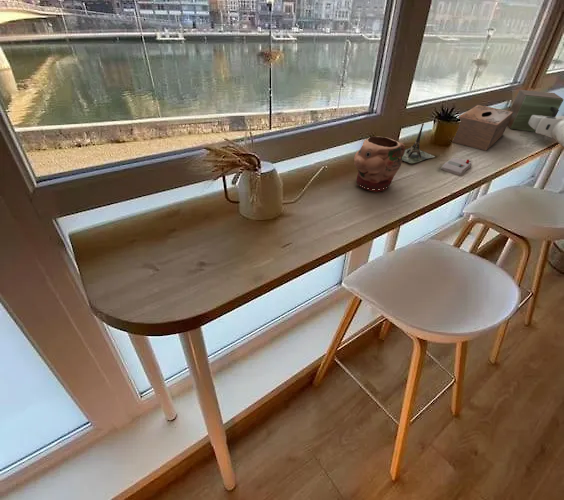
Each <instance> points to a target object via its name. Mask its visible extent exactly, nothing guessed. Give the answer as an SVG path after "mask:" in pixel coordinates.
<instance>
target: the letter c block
mask: <svg viewBox="0 0 564 500" xmlns="http://www.w3.org/2000/svg"><path fill="white" fill-rule="evenodd" d="M563 102H564V98H563V99H556V98H546V97H535V96H525V98H524V101H523V103H522V105H521V107H520V109H519V111H518V113H517V115H516V118H515V120H514V122H513V124H512V126H511V128H510V129H511V130H518V131H527V132H535V131H536V130H535V129H533V128H532V127H531V126H530V125H529V124H528V122H529V120H530V118H531V116H532V115H540V116H541V115H544V116H550V117H557V115H558V113H559V111H560V108H561V105H562V104H563ZM535 133H536V132H535Z"/></svg>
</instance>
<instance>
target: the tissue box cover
mask: <svg viewBox="0 0 564 500" xmlns="http://www.w3.org/2000/svg"><path fill="white" fill-rule="evenodd" d="M512 114H513V112H511V111H510V110H505V109H500V108H497V107H491V106H486V105H481V104H476V105H475V106H473V107H472V108H470V109H469V110H467V111H465V112H463V113H462V114H460V115H458V116H457V119H458V118H459V119H460V120H461V122H460V125H459V128H458V131H457V133H456V136H455V138H454V140H452V142H451V143H454V144H459V145H463V146H466V147H471V148H474V149H477V150H481V151H485V152H487V151H488V150H489V149H490V148H491V147H492V146H493V145H494V144H495V143H496V142H498V140H500V138H501V137H503V136H504V134H505V131H506V129H507V126H508V123H509V120H510V118H511V116H512Z"/></svg>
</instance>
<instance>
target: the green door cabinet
mask: <svg viewBox="0 0 564 500" xmlns="http://www.w3.org/2000/svg"><path fill="white" fill-rule="evenodd" d="M525 96H535V97H546V98H556V99H564V98H563V97H562V96H560V95H558V94H557V93H555V92H549V91H540V90H539V91H537V90H527V89H519V90H518V92H517V94H516V95H515V99H514V100H513V103H512V105H511V107H510V109H509V111H511V112H513V114H512V116H511V118H510V120H509V123H508V125H507V126H508V128H509V129H511V126H512V124H513V122H514V120H515V118H516V115H517V113H518V111H519V109H520V107H521V105H522V103H523V101H524V98H525Z"/></svg>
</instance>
